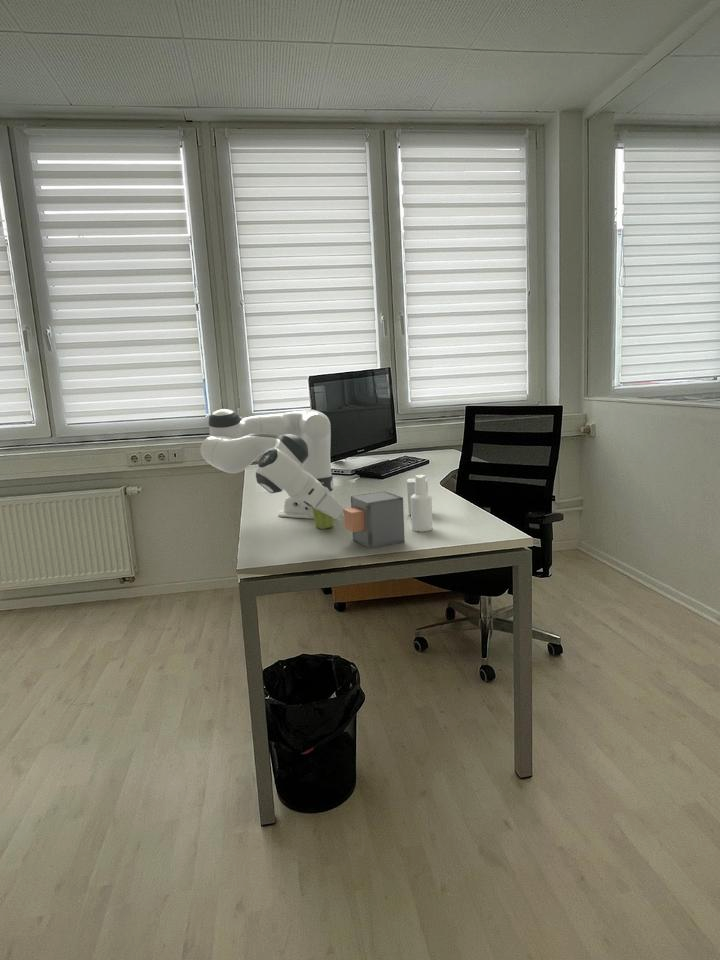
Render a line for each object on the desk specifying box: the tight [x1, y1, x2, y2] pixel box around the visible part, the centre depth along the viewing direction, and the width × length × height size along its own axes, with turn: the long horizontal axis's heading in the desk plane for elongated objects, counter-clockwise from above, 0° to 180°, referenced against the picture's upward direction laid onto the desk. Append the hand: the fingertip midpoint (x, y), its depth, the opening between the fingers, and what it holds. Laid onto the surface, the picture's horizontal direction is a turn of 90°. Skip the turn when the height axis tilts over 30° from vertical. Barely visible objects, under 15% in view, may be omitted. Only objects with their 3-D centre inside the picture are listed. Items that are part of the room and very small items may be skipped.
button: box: [343, 507, 365, 533], centre depth 181 cm, size 5×6×6 cm
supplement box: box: [406, 477, 429, 516], centre depth 217 cm, size 7×7×13 cm
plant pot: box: [312, 507, 335, 530], centre depth 205 cm, size 9×9×9 cm
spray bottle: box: [410, 474, 433, 533], centre depth 195 cm, size 7×7×18 cm
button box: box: [350, 491, 406, 549], centre depth 184 cm, size 12×12×14 cm
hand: (339, 518), depth 179 cm, fingers closed
